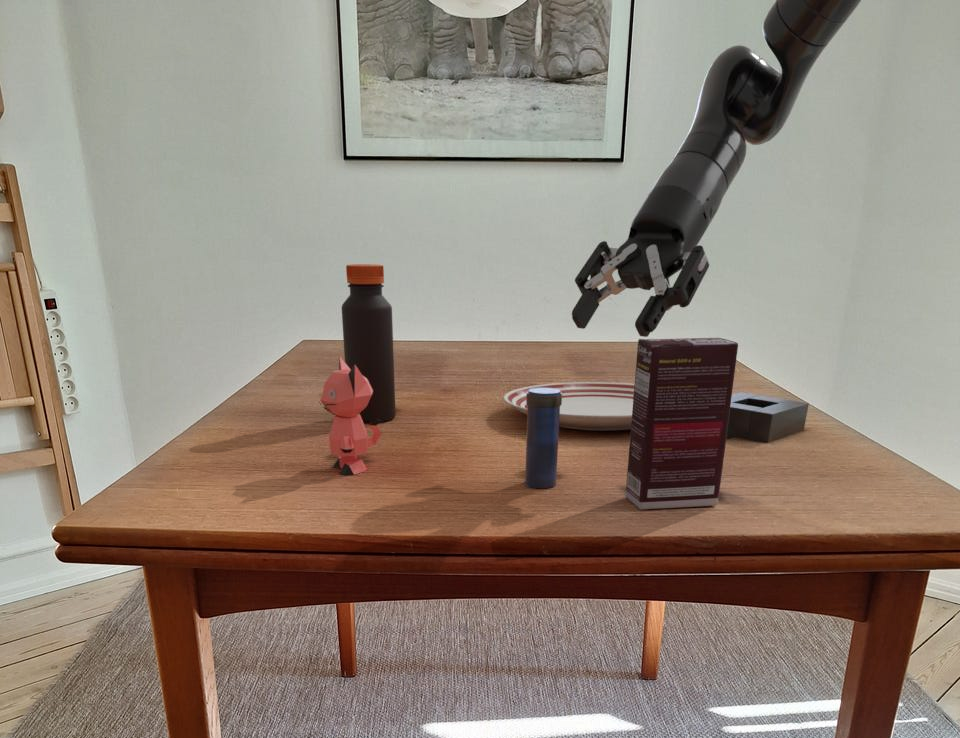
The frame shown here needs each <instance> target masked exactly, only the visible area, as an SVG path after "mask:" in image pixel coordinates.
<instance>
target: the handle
mask: <svg viewBox="0 0 960 738" xmlns="http://www.w3.org/2000/svg"><path fill="white" fill-rule="evenodd" d="M526 404H527V405H528V411H527V415H526V441H525V471H524V484H525V486H527V487H528V488H533V489H551V488H554V487H555V486H556V485H557V474H558V473H557V470H558V453H559V432H560V427H559V418H560V406H561V404H562V392H561V391H560V390H558V389H554V388H533V389H529V390H528V392H527V399H526Z"/></svg>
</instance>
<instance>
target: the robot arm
mask: <svg viewBox="0 0 960 738" xmlns="http://www.w3.org/2000/svg"><path fill="white" fill-rule="evenodd" d="M861 2H862V0H775V1H774V3H773V4H772V6H771V7H770V9H769V11H768V12H767V14H766V16H765V18H764V20H763V23H762V35H763V39H764V41H765V44H766V45H767V46H768V48H769V50H770V52H771V53H772V54H773V56H774V57H775V58H776V60H777V62H778V64H779V66H780V69H781V72H779V70H778V69H776V68H775V67H773V66H772V65H771V64H770V63H769V62H767V61H766V60H765V59H764V58H763V57H761V56H760V55H759V54H758V53H757V52H755V50H752V49H751V48H750V47H748V46H746V45H742V44H737V45H732V46H731V47H729V48H726V49H725V50H723V51H721V53H719V55H717V57H716V58H715V59H714V61H713V62H712V64H711V65H710V67H709V69H708V70H707V73H706V74H705V77H704V80H703V84H702V87H701V90H700V94H699V98H698V102H697V105H696V106H697V107H696V109H695V110H696V111H695V113H694V118H693V121H692V124H691V125H690V129H689V131H688V133H687V135H686V137H685V139H684V140H683V142H682V144H681V145H680V146H679V149H678V150H677V152H676V154H674V157H673V158H672V159H671V162H669V164H668V165H667V167H666V168H665V169H664V170H663V171H662V172H661V174H660V175H659V177H658V179H657V180H656V182H655V184H654V185H653V187H652V188H651V190H650V191H649V193H648V194H647V196H646V198H645V200H644V201H643V203H642V205H641V206H640V208H639V210H638V211H637V213H636V215H635V216H634V218H633V219H632V221H631V223H630V226H629V227H630V228H629V232H628V236H627V239H626V240H625V242H623V243H622V244H621V245H620V246H619V247H618V248H617V247H615V248H614V247H609V244H608V242H607V241H606V240H603V241H601V242H599V243H598V245H597V246H596V247H595V248H594V250H593V252H592V253H591V254H590V256H589V257H588V259H587V260H586V262H585V264H584V265H583V266H582V267H581V269H580V271H579V272H578V273H577V275H576V276H575V278H574V282H575V284H576V286H577V288H578V290H579V292H580V294H581V296H580V297H579V299H578V301H577V302H576V304H575V306H574V307H573V309H572V311H571V318H572V321H573V322H574V324H575V326H576V328H577V329H581V330H582V329H583V330H584V329H586V327H588V325H589V322H590V321H591V319H592V318H593V316H594V314H595V313H596V311H597V310H598V308H599V306H600V303H601V302H602V301H603V300H605V299H606V298H608V297H610V296H611V295H615V296H617V295H619V294H620V293H622V292H623V291H625V290H626V289H629V290H630V289H631V290H633V289H641V290H644V291H651V289H652V288H653V290H654V293H655V295H650V296H649V298H648V300H647V301H646V303H645V304H644V307H643V308H642V309H641V311H640V313H639V314H638V317H637V318H636V320H635V322H634V327H635V329H636V331H637V333H638V336H639V337H644V338H647V337H649V335H650V334H651V333H653V332H654V331H655V330H656V329H657V327H658V325H659V324H660V322H661V321H662V318H663V317H664V316H665V313H666V312H667V311H670V310H671V309H672V308H673V307H674V306H678V307H680V308H683V309H684V308H686V307H688V306H689V305H690V304H691V302H692V301H693V299H694V296H695V294H696V292H697V291H698V289H699V287H700V285H701V283H702V281H703V279H704V277H705V275H706V273H707V272H708V270H709V267H710V263H709V260H708V257H707V254H706V251H705V249H704V247H703V246H702V245H699V243H700V241H701V240H702V238H703V237H704V234H705V233H706V231H707V230H708V228H709V227H710V225H711V223H712V221H713V220H714V218H715V216H716V215H717V213H718V211H719V208H720V207H721V203H722V201H723V199H724V197H725V196H726V194H727V191H728V190H729V188H730V186H731V185H732V183H733V182H734V180H735V178H736V176H737V175H738V173H739V172H740V170H741V168H742V166H743V164H744V163H745V160H746V156H747V143H748V144H750V145H752V146H760V145H765V144H766V143H768V142H770V141H771V140H773V139H774V138H775V137H776V136H777V135H778V134H779V133H780V132H781V131H782V130H783V128H784V127H785V125H786V123H787V121H788V119H789V117H790V115H791V113H792V111H793V108H794V106H795V104H796V102H797V99H798V97H799V94H800V92H801V90H802V88H803V85H804V83H805V82H806V79H807V77H808V75H809V73H810V72H811V70H812V69H813V66H814V65H815V63H816V62H817V60H818V59H819V58H820V56H821V54H822V53H823V52H824V50H825V49H826V47H827V46H828V45H829V43H830V42H831V41H832V40H833V39H834V37H835V36H836V34H837V33H838V32H839V31H840V29H841V28H842V27H843V26H844V24H845V23H846V22H847V20H848V19H849V18H850V16H851V15H852V14H853V13H854V11H856V9H857V8H858V6H859V5H860V3H861ZM615 271H617V276H618V277H619V280H618V281H615V279H614V277H613V273H614V272H615ZM679 271H680V272H679ZM678 272H679V274H678V276H677V278H676V280H675V281H674V283H673V285H671V282H670V281H671V280H670V278H671V277H673V275H675V274H676V273H678ZM588 278H589V279H588ZM605 282H606V285H604V286H603V287H601V288H600V289H599V286H600V285H602V284H604V283H605Z"/></svg>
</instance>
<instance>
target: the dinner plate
mask: <svg viewBox="0 0 960 738" xmlns="http://www.w3.org/2000/svg"><path fill="white" fill-rule="evenodd" d="M634 386H635V383H629V382H628V383H627V382H610V381H609V382H605V381H571V382H570V381H569V382H554V383H545V384H536V385H529V386H524V387H520V388H516V389H513V390H510V391H508V392H506V393H504V395H503V401H504V402H505V403H506V404H507V405H509V406H510V407H512V408H513V409H514V410H516V411H518V412H519V413H522V414H525V415H526V416H527V411H528V405H527V404H526V399H527V392H528V390H529V389H533V388H554V389H558V390H560V391H561V392H562V404H561V406H560V418H559V428H564V429H570V430H580V431H581V430H582V431H597V432H599V431H600V432H604V431H605V432H606V431H607V432H610V431H613V432H614V431H629V430H630V431H631V422H632V410H633V396H634Z"/></svg>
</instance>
